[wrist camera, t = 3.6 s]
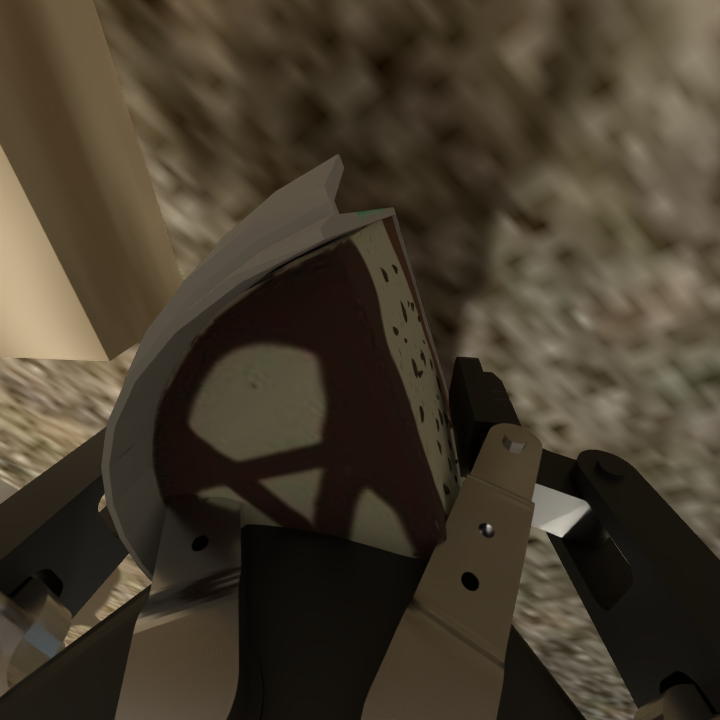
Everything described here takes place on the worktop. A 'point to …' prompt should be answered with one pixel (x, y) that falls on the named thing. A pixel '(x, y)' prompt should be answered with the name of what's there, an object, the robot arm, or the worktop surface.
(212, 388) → the food container
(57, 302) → the maple block
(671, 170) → the worktop surface
